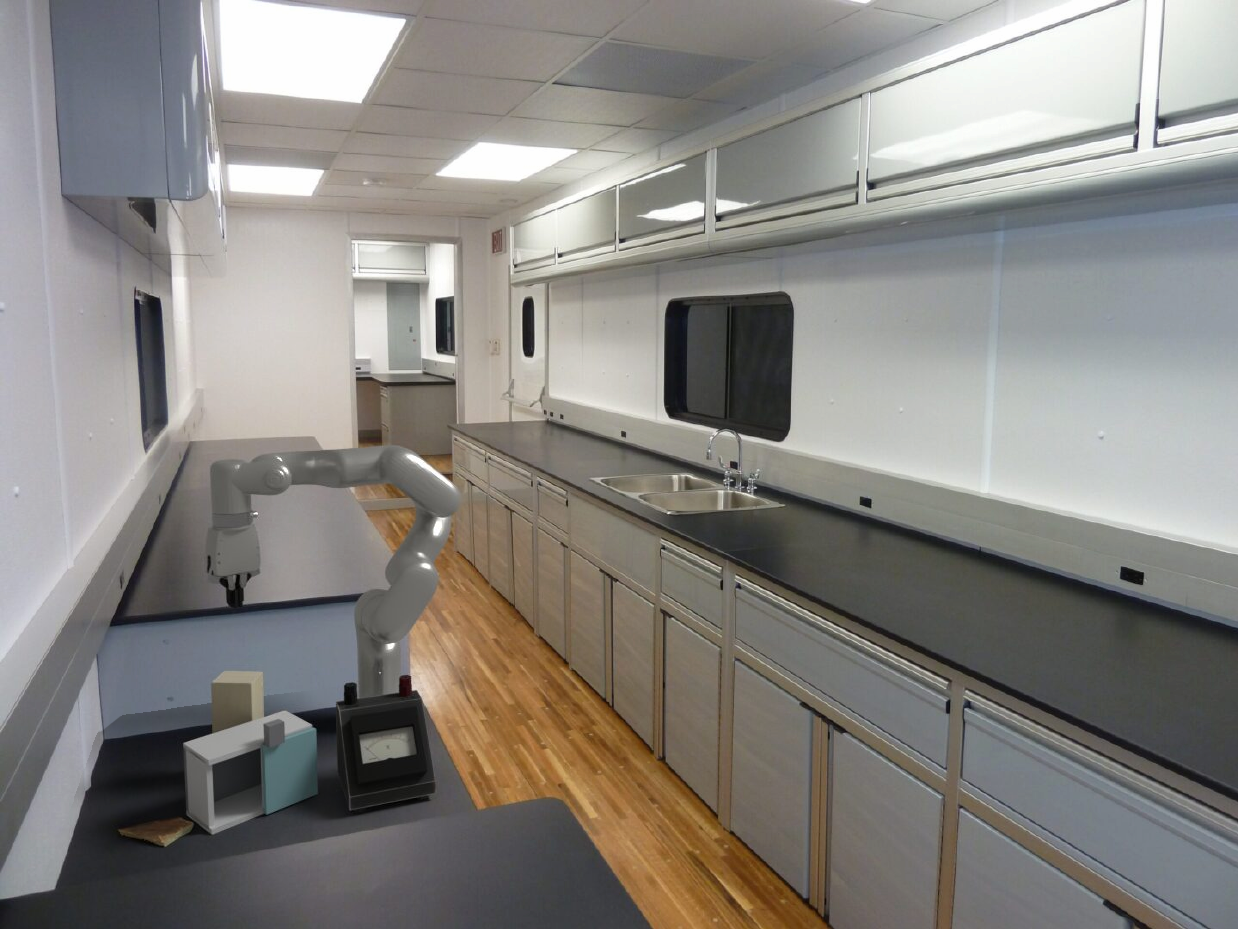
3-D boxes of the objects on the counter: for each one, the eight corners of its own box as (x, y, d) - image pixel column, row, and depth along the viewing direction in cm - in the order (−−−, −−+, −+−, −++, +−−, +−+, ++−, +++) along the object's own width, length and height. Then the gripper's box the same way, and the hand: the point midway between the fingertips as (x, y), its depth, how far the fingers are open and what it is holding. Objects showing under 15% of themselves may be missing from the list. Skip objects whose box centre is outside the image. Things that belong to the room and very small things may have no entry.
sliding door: (315, 792, 173) (312, 707, 170) (320, 795, 171) (318, 710, 169) (263, 812, 165) (260, 724, 162) (269, 816, 163) (266, 727, 161)
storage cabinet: (287, 776, 179) (285, 710, 177) (314, 793, 173) (312, 725, 171) (186, 815, 164) (183, 743, 162) (212, 835, 158) (208, 760, 156)
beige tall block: (267, 767, 183) (264, 669, 180) (254, 784, 176) (250, 683, 173) (228, 767, 183) (224, 669, 180) (213, 784, 175) (209, 683, 172)
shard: (117, 837, 157) (117, 827, 157) (154, 815, 164) (154, 806, 164) (163, 851, 153) (162, 841, 153) (198, 828, 160) (198, 819, 160)
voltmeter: (349, 818, 164) (347, 715, 161) (337, 778, 179) (335, 683, 176) (436, 801, 171) (435, 702, 168) (417, 764, 186) (416, 672, 183)
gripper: (257, 512, 191) (260, 595, 193) (186, 522, 179) (190, 610, 182) (275, 517, 186) (278, 602, 188) (204, 527, 174) (208, 618, 177)
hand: (235, 606), depth 185 cm, fingers closed
